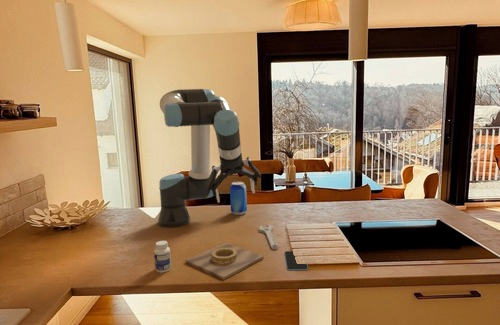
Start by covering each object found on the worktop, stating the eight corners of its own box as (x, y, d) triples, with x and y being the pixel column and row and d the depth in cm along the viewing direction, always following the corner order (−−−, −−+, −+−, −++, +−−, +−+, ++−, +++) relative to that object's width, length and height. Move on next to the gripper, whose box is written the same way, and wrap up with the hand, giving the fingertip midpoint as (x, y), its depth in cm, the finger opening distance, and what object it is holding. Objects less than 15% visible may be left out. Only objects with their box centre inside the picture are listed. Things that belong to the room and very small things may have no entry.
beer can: (249, 210, 183) (248, 181, 180) (243, 215, 175) (242, 185, 172) (234, 209, 185) (233, 180, 183) (228, 214, 178) (227, 184, 175)
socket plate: (185, 262, 124) (185, 254, 124) (225, 245, 139) (225, 238, 138) (223, 280, 111) (223, 271, 110) (263, 258, 125) (263, 250, 125)
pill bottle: (157, 266, 122) (154, 240, 120) (172, 265, 122) (170, 239, 121) (154, 273, 117) (151, 246, 115) (170, 272, 117) (168, 245, 116)
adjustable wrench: (279, 250, 133) (278, 246, 133) (262, 251, 133) (262, 247, 133) (272, 227, 158) (272, 224, 157) (258, 228, 158) (258, 224, 157)
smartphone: (303, 250, 130) (308, 268, 116) (303, 252, 131) (308, 271, 116) (283, 250, 131) (286, 269, 116) (283, 253, 131) (286, 271, 116)
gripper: (195, 169, 111) (205, 211, 125) (269, 151, 115) (270, 194, 129) (191, 154, 116) (201, 196, 130) (262, 138, 120) (264, 180, 135)
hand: (235, 195), depth 130 cm, fingers open, 13 cm apart
